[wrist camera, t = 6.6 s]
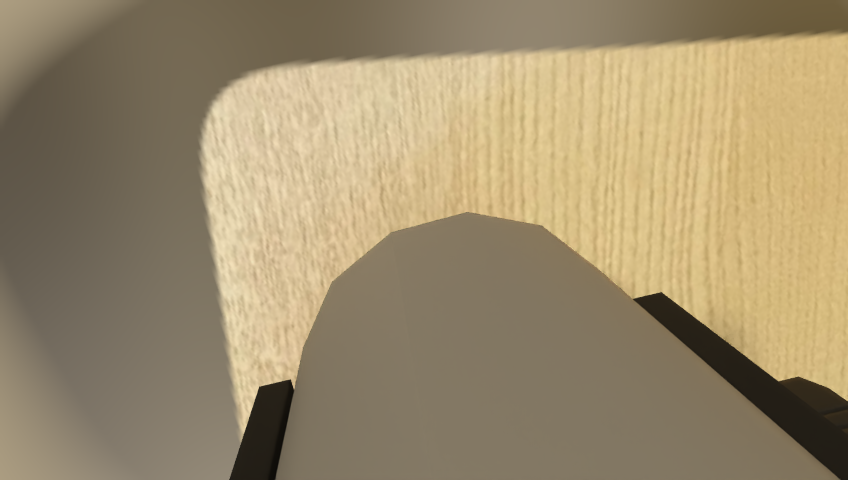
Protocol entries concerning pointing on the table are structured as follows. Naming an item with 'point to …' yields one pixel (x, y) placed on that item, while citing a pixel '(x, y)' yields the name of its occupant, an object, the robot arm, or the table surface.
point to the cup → (511, 373)
